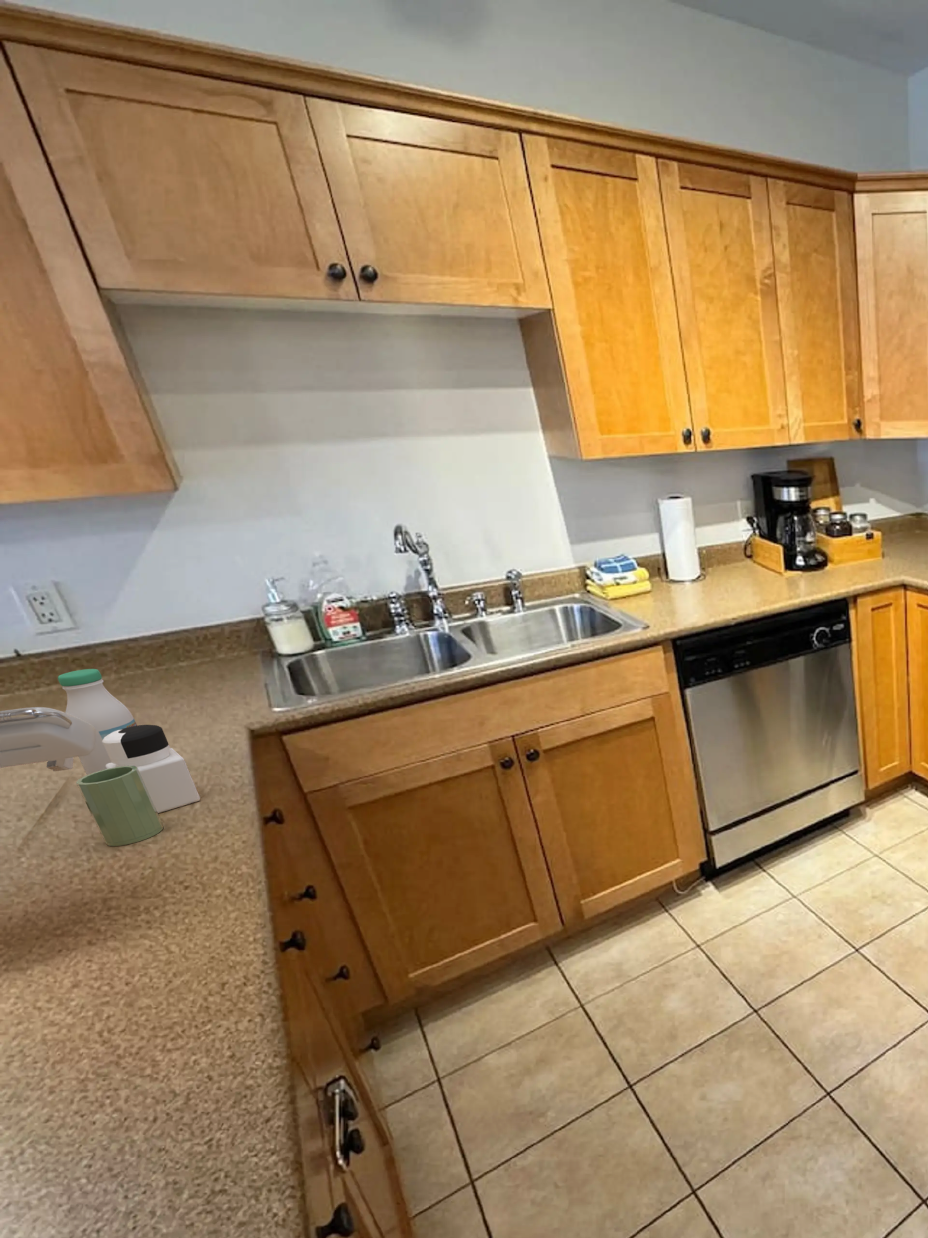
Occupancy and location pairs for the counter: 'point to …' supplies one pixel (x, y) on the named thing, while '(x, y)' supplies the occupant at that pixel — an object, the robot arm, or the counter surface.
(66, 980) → the counter surface
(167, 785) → the container
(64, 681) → the milk bottle
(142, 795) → the cup
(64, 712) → the robot arm
